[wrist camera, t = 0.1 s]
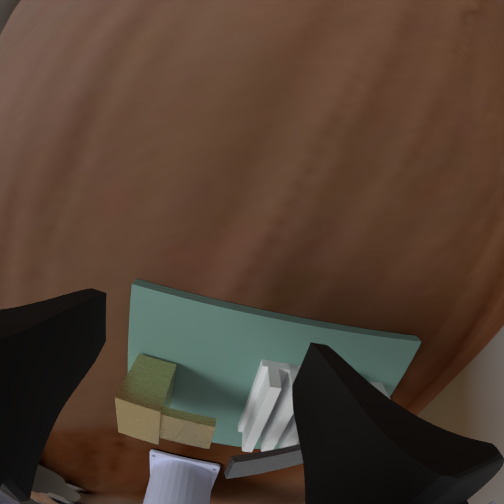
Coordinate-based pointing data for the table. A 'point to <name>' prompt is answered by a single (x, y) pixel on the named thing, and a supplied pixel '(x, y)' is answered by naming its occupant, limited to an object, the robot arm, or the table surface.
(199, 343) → the board
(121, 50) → the table surface
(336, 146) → the table surface
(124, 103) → the table surface
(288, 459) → the strap
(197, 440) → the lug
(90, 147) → the table surface
